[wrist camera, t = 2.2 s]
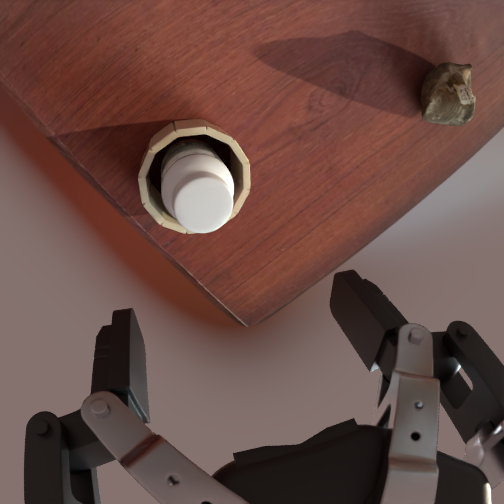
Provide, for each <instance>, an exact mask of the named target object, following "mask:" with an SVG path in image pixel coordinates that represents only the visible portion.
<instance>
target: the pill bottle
mask: <svg viewBox="0 0 504 504" xmlns="http://www.w3.org/2000/svg"><path fill="white" fill-rule="evenodd" d="M161 193H162V199H163V203H164V205H165V207H166V209H167V210H168V212H169V213H170V214H171V215H172V216H173V217H174V218H176V219H177V221H178V222H179V223H180V224H181V225H182V226H183V227H184V228H185V229H187V230H189V231H192V232H196V233H207V232H211V231H214V230H216V229H218V228H220V227H221V226H222V225H223V224H225V222H226V221H227V220H228V219H229V217H230V215H231V213H232V209H233V194H234V183H233V179H232V176H231V174H230V172H229V170H228V169H227V167H226V166H225V165H224V163H223V162H222V161H221V159H220V158H219V157H218V155H217V154H216V152H215V151H214V150H213V148H212V147H211V146H209V145H208V144H207V143H205V142H203V141H200V140H195V139H187V140H182V141H180V142H177V143H176V144H174V145H173V146H171V147H170V148H169V149H168V151H167V152H166V153H165V155H164V157H163V160H162V164H161Z"/></svg>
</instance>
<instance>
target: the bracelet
mask: <svg viewBox="0 0 504 504" xmlns="http://www.w3.org/2000/svg"><path fill="white" fill-rule="evenodd" d="M200 134H206V135H209V136H211V137H213V138H215V139H218V140H220V141H222V142H224V143H225V144H226V146H227V147H228V149H229V150H230V163H231V172H230V174H231V176H232V179H233V183H234V194H233V209H232V213H231V215H230V217H229V219H228V220H230V219H231V218H233V217H234V216H235V215H236V213H238V212H239V210H240V208H241V206H242V204H243V203H244V201H245V199H246V197H247V195H248V193H249V192H250V191H249V189H250V164H249V163H248V162H249V160H248V159H247V157H246V156H245V154H244V153H243V151H242V150H241V148H240V147H239V145H238V144H237V142H236V141H235V139H233V138H232V137H231V136H230V135H229V134H228V133H227V132H225V131H224V130H223V129H222V128H220V127H218V126H216V125H213V124H211V123H209V122H207V121H205V120H202V119H200V120H199V119H188V120H180V121H174V123H173V122H171V123H170V124H169V125H167V126H166V127H165V128H163V129H162V130H160V131H159V132H158V133H156V134H155V135H154V136H153V137H152V138H151V139H150V142H149V144H148V146H147V148H146V151H145V153H144V155H143V158H142V161H141V165H140V170H139V174H138V182H139V189H140V195H141V201H142V204H143V206H144V208H145V209H146V210H147V211H148V212H149V213H150V214H151V216H152V217H153V218H154V219H155V220H156V221H157V222H158V223H159V225H160V224H161V225H162V226H164V227H166V228H169V229H172V230H175V231H178V232H181V233H184V234H186V232H187V234H192V233H196V232H192V231H189V230H187V229H185V228H184V227H183V226H182V225H181V224H180V223H179V222H178V221H177V219H176V218H174V217H173V216H172V215H171V214H170V213H169V212H168V210H167V209H166V207H165V205H164V203H163V199H162V195H161V194H160V193H159V192H158V191H157V189H156V188H155V187H154V186H153V185H152V183H151V181H150V174H149V168H150V166H151V163H152V161H153V159H154V156H155V154H156V153H157V152H158V151H160V150H161V149H162V148H164V147H165V146H166V145H168V144H169V143H170V142H172V141H173V140H175V139H176V138H177V137H183V136H191V135H200ZM228 220H227V221H228ZM227 221H226V222H227Z"/></svg>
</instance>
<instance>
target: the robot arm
mask: <svg viewBox="0 0 504 504" xmlns="http://www.w3.org/2000/svg"><path fill="white" fill-rule="evenodd" d="M330 309H331V313H332V315H333V317H334V318H335V320H336V321H337V323H338V324H339V326H340V327H341V329H342V330H343V332H344V333H345V335H346V336H347V338H348V339H349V341H350V342H351V344H352V345H353V347H354V349H355V350H356V352H357V353H358V355H359V356H360V358H361V359H362V361H363V362H364V364H365V365H366V367H367V368H368V370H369V372H371V371H373V370H376V369H379V368H380V370H381V371H382V373H381V375H380V380H379V386H378V392H377V398H376V404H375V409H374V414H373V417H372V420H371V422H370V425H357V423H356V421H355V419H354V418H353V419H350V420H348V421H345V422H342V423H339V424H336V425H333V426H331V427H328V428H326V429H324V430H323V431H321V432H319V433H318V434H316V435H314V436H313V437H311V438H309V439H308V440H306V441H304V442H303V443H301V444H297V445H284V446H283V445H281V446H263V447H259V448H255V449H250V450H246V451H241V452H237V453H233V456H234V461H232V462H230V463H228V464H226V465H224V466H223V467H221V468H220V469H219V470H217V471H216V472H215V473H214V474H213V475H212V476H209V474H207V473H206V472H205V471H203V470H202V469H201V468H199V467H198V466H197V465H196V464H194V463H193V462H192V461H191V460H189V459H188V458H187V457H186V456H184V455H183V454H182V453H181V452H179V451H178V450H177V449H176V448H175V447H173V446H172V445H171V444H170V443H169V442H168V441H167V440H165V439H164V438H163V437H162V436H160V435H156V434H155V433H153V432H152V431H151V430H150V429H149V428H148V427H147V426H146V425H145V423H150V417H149V405H148V392H147V377H146V376H147V375H146V353H145V345H144V340H143V336H142V334H141V331H140V328H139V325H138V322H137V319H136V316H135V313H134V310H133V309H132V308H129V309H122V310H116V311H113V316H112V325H107V326H103V327H102V328H101V330H100V331H99V333H98V335H97V336H96V345H95V354H94V358H95V359H94V363H93V373H92V385H91V394H90V395H89V396H88V397H87V398H86V399H85V400H84V402H83V404H82V407H81V409H79V410H77V411H75V412H73V413H70V414H68V415H65V416H62V417H59V418H58V417H57V416H56V415H55V414H53V413H51V412H47V411H44V412H39V413H37V414H35V415H34V416H33V417H32V418H31V419H30V420H29V422H28V424H27V427H26V438H25V455H24V500H25V504H101V502H100V495H99V488H98V479H97V470H96V467H97V466H100V465H103V464H106V463H108V462H111V461H113V460H116V459H117V460H118V461H119V463H120V464H121V465H122V466H123V467H124V469H125V470H126V471H127V472H128V473H129V474H130V475H131V476H132V477H133V478H134V479H135V480H136V481H137V482H138V483H139V484H140V485H141V486H142V487H143V488H144V489H145V490H146V491H147V492H148V493H149V494H151V495H152V496H153V497H154V498H155V499H156V500H157V501H158V502H159V503H160V504H491V490H492V489H493V488H495V487H496V486H497V485H498V484H500V483H501V482H502V481H503V480H504V365H503V364H502V363H501V362H500V360H499V359H498V358H497V356H496V355H495V354H494V353H493V351H492V350H491V349H490V348H489V346H488V345H487V344H486V343H485V342H484V340H483V339H482V338H481V337H480V336H479V334H478V333H477V332H476V331H475V330H474V329H473V327H471V326H470V325H469V324H467V323H465V322H463V321H454V322H452V323H450V324H449V326H448V328H447V330H446V331H444V332H430V331H429V330H428V329H426V328H425V327H424V326H422V325H420V324H416V323H409V322H408V321H407V320H406V319H405V318H404V316H403V315H402V314H401V313H400V312H399V311H398V310H397V308H396V307H395V306H394V305H393V304H392V303H391V301H389V300H388V298H387V297H386V296H385V295H383V292H382V291H381V290H380V289H379V288H378V287H377V286H376V285H375V284H373V283H372V282H370V281H368V280H367V279H362V278H361V277H360V276H359V275H358V274H357V272H356V271H355V270H348V271H343V272H338V273H336V274H335V275H334V280H333V286H332V292H331V298H330ZM460 367H462V368H463V370H464V371H465V373H466V374H467V375H468V377H469V378H470V380H471V381H472V384H473V390H471V389H470V388H469V386H468V385H467V383H466V382H465V380H464V379H463V377H462V376H461V375H460V373H459V372H458V370H459V368H460ZM440 403H441V404H442V406H443V407H444V409H445V411H446V412H447V414H448V415H449V417H450V419H451V420H452V422H453V424H454V425H455V427H456V429H457V430H458V432H459V434H460V435H461V437H462V439H463V441H464V442H465V444H466V448H465V453H466V455H465V456H464V461H463V460H460V459H458V458H455V457H452V456H450V455H447V454H445V453H442V452H440V451H437V443H438V430H439V409H440V408H439V407H440Z"/></svg>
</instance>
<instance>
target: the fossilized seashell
mask: <svg viewBox="0 0 504 504" xmlns="http://www.w3.org/2000/svg"><path fill="white" fill-rule="evenodd" d="M472 69H473V67H472V65H471V64H465V65H459V64H454V63H450V62H444V63H441V64H440V65H438V67H437V68H435V69H433V70H432V71H431V72H430V73H429V74H428V75H427V76H426V78H425V80H424V83H423V87H422V91H421V101H422V117H423V118H424V120H425V121H428V122H431V123H437V124H448V125H454V126H463V125H465V124H466V123H467V122H468V121H470V120H471V119H472V117H473V116H474V110H475V100H476V96H475V95H474V94H473V93H472V92H471V71H470V70H472Z"/></svg>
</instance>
